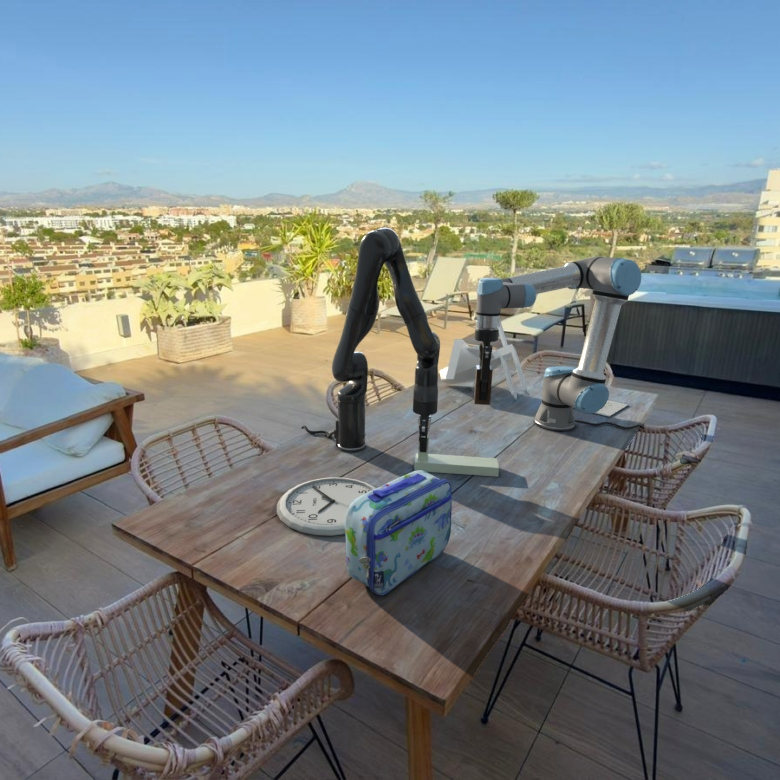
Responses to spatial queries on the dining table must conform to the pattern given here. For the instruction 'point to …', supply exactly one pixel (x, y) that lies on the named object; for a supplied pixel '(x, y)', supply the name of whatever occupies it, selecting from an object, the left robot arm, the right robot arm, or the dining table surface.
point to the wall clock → (320, 505)
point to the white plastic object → (468, 358)
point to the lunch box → (397, 529)
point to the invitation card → (611, 408)
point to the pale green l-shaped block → (455, 464)
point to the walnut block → (477, 384)
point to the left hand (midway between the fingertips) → (423, 448)
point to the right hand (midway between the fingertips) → (482, 397)
